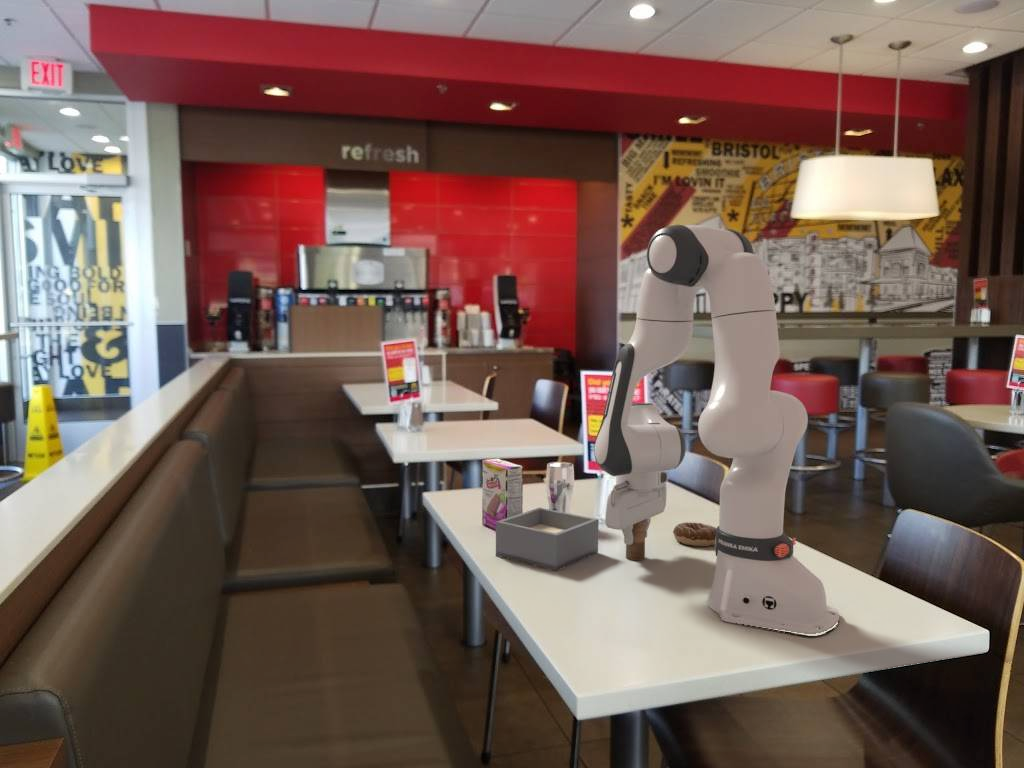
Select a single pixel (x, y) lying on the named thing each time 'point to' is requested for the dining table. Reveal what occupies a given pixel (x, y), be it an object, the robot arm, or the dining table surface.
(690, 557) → the dining table surface
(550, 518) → the open-top box
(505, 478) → the candy bar box
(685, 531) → the donut
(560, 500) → the beer glass
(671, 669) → the dining table surface
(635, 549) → the peg
